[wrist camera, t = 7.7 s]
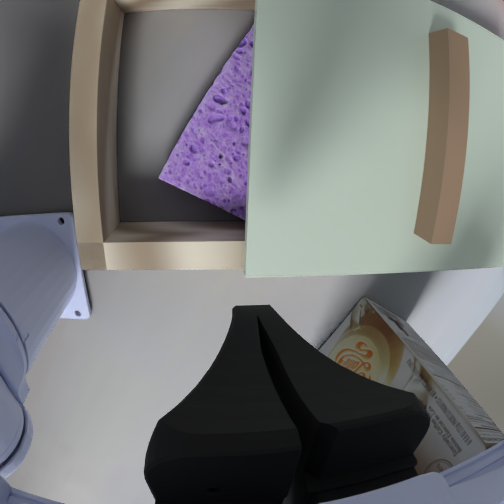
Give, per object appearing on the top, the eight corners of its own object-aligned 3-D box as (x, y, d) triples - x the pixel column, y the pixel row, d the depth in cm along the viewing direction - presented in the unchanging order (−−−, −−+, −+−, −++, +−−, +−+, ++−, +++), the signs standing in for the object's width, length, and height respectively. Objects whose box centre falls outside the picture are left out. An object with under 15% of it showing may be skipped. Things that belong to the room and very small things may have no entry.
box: (100, 246, 20) (81, 269, 16) (103, -4, 14) (85, -25, 10) (393, 244, 23) (421, 264, 19) (410, 24, 17) (441, 13, 13)
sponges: (358, 67, 18) (371, 63, 16) (258, 226, 21) (263, 236, 19) (266, 6, 15) (272, -4, 14) (160, 174, 19) (155, 179, 17)
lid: (243, 271, 17) (249, 294, 15) (257, -39, 11) (266, -62, 9) (502, 262, 20) (522, 275, 18) (523, 59, 14) (547, 58, 12)
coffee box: (345, 391, 28) (411, 530, 13) (294, 373, 26) (354, 543, 12) (408, 319, 26) (516, 449, 11) (363, 291, 24) (488, 450, 9)
